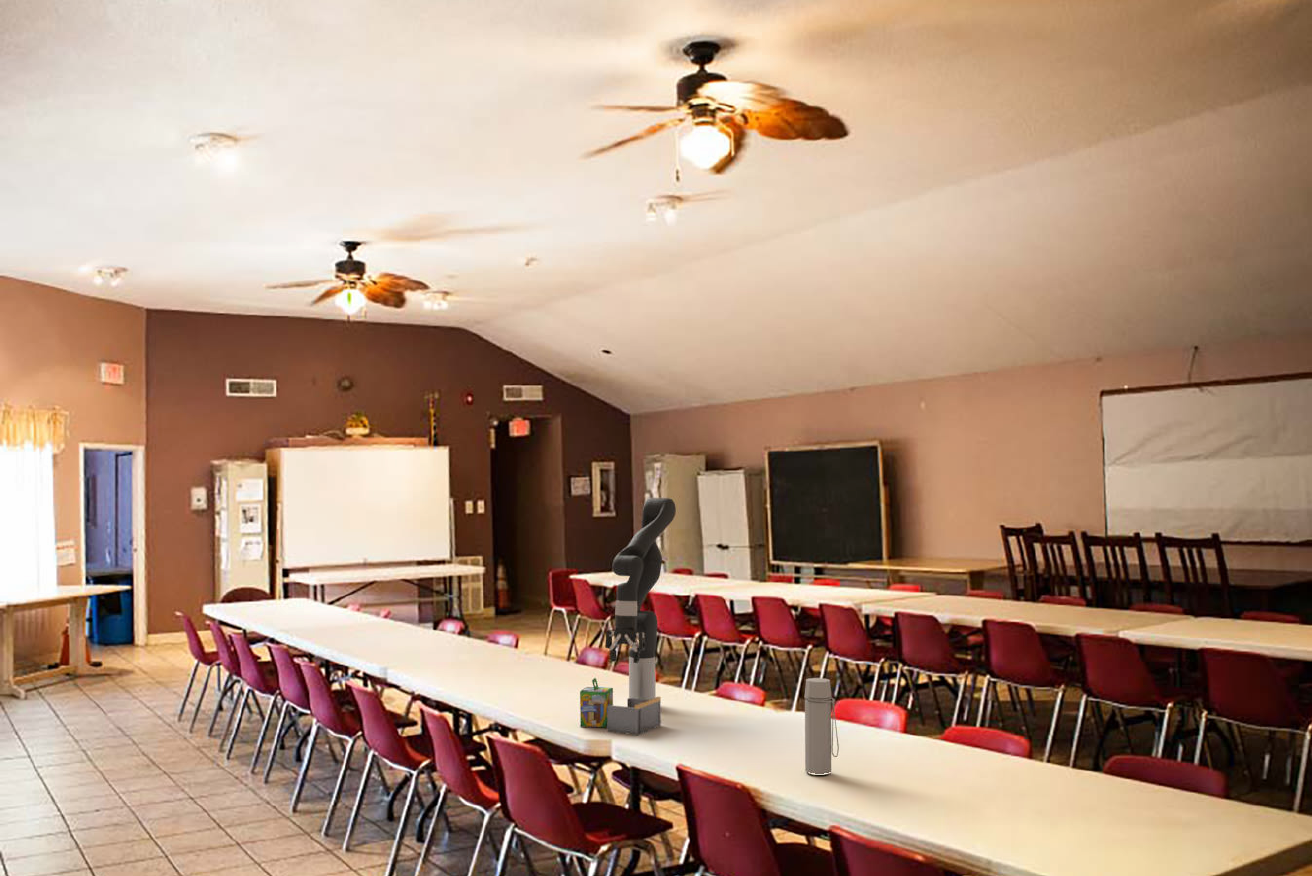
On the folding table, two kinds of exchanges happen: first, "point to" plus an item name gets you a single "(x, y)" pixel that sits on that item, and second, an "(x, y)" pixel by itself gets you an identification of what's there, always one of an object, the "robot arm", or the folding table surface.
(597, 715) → the chalk box
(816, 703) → the water bottle
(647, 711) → the grey rectangular box
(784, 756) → the folding table surface
